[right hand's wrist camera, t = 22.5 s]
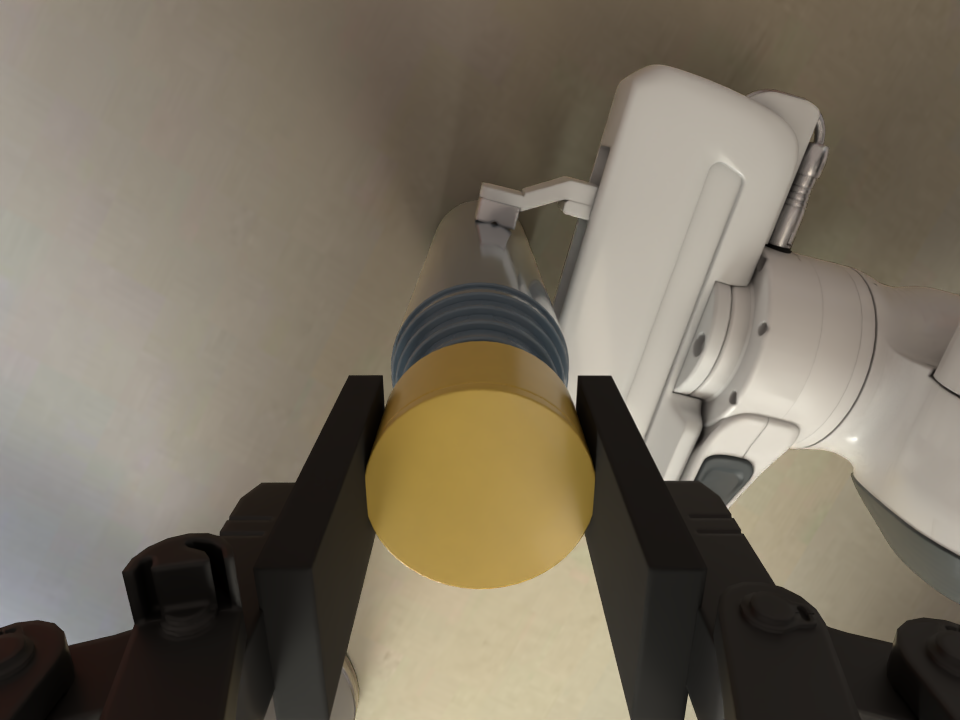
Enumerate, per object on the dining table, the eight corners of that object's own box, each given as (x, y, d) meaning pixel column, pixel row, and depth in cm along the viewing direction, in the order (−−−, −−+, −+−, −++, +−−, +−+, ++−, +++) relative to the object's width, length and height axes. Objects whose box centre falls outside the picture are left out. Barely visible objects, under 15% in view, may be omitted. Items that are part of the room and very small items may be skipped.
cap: (492, 544, 16) (494, 624, 13) (344, 443, 15) (317, 509, 12) (617, 419, 15) (645, 482, 12) (465, 299, 14) (462, 340, 11)
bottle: (525, 292, 36) (597, 579, 14) (434, 292, 36) (361, 578, 14) (528, 200, 34) (616, 359, 12) (432, 199, 34) (345, 357, 12)
